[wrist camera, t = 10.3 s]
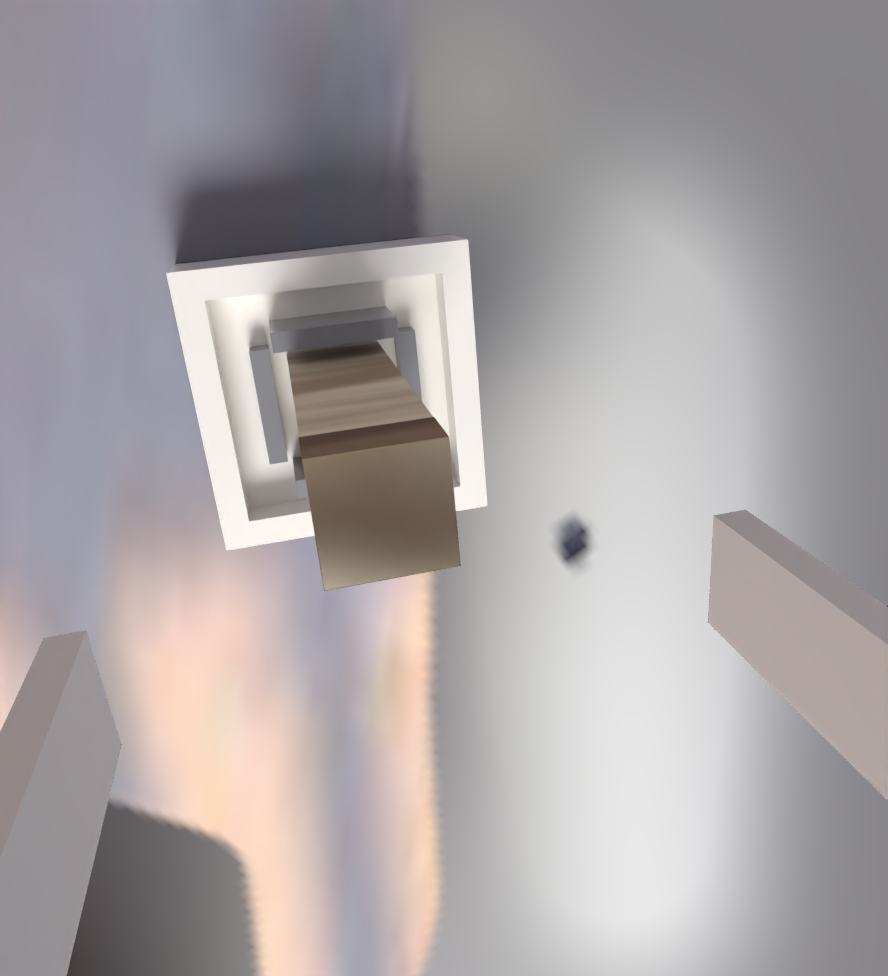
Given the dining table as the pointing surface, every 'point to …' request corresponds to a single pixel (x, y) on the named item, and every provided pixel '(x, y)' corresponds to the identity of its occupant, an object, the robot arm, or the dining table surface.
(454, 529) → the wood grain beam
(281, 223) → the dining table surface
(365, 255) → the white square frame
